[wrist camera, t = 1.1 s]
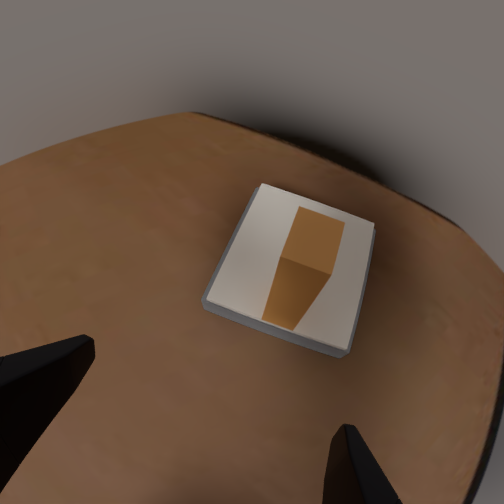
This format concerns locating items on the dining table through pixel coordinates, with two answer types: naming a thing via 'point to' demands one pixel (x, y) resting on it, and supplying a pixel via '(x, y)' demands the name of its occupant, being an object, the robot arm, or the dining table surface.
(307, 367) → the dining table surface
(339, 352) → the gray carton
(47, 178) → the dining table surface
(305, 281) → the lid
